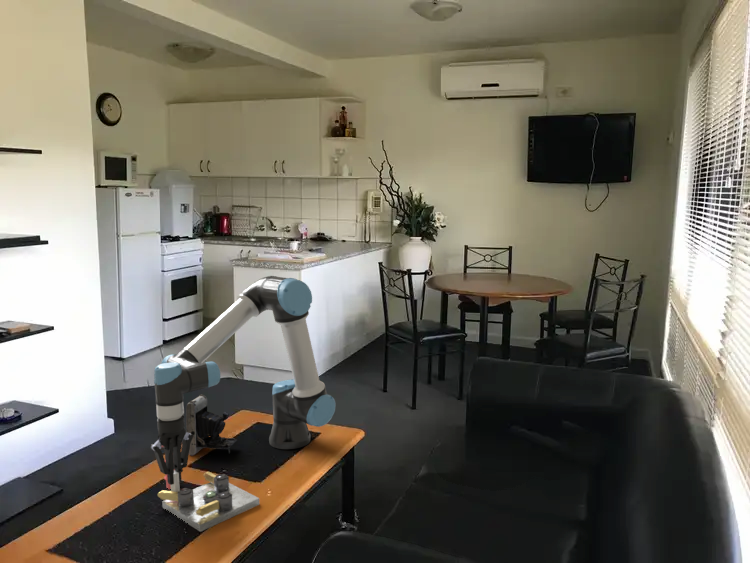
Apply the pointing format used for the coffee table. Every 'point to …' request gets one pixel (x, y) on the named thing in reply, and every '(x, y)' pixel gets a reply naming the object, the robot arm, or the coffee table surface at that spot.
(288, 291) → the robot arm
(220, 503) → the screw side
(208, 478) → the screw
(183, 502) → the screw
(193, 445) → the vintage camera
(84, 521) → the coffee table surface
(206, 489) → the tribrach plate
